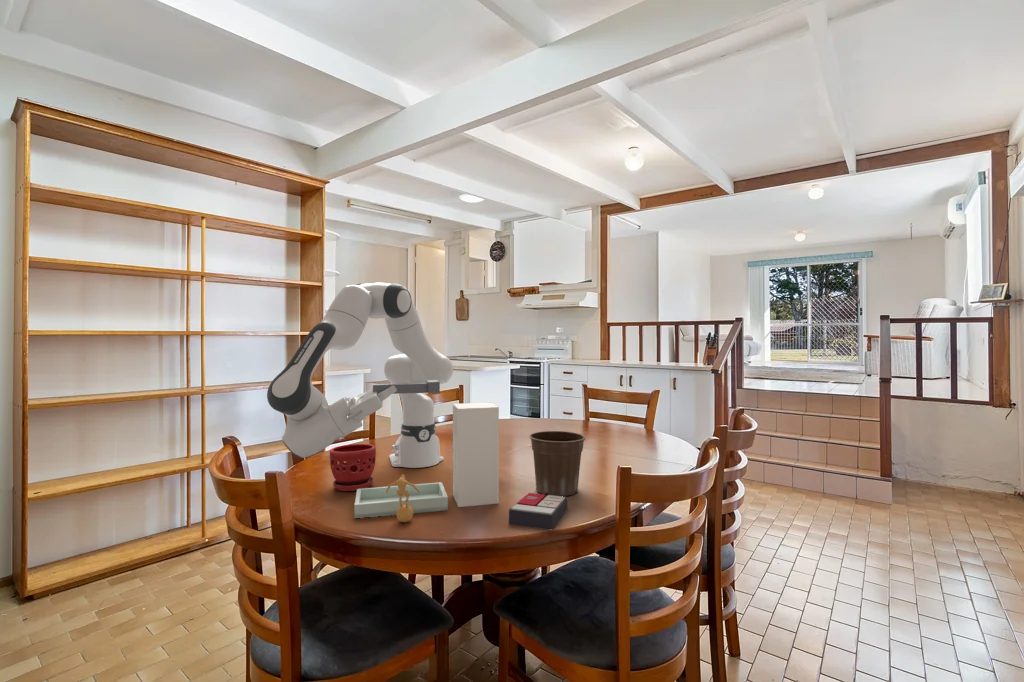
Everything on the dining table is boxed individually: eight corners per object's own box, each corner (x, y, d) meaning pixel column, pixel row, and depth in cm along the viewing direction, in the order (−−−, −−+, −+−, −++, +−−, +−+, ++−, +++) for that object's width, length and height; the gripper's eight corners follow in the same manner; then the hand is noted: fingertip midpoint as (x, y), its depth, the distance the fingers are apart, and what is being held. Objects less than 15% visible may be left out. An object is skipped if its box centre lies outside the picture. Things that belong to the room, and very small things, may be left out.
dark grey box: (567, 495, 125) (552, 512, 111) (567, 512, 125) (552, 531, 111) (527, 491, 129) (508, 506, 115) (527, 507, 129) (508, 524, 115)
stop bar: (373, 392, 129) (373, 381, 129) (436, 390, 133) (436, 379, 133) (372, 395, 122) (372, 383, 122) (439, 393, 126) (439, 382, 126)
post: (453, 495, 136) (452, 403, 136) (490, 491, 139) (490, 402, 139) (458, 507, 126) (458, 408, 126) (498, 503, 129) (498, 407, 129)
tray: (357, 501, 131) (357, 488, 131) (441, 494, 137) (441, 482, 136) (354, 519, 118) (354, 504, 118) (447, 510, 124) (447, 496, 124)
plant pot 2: (568, 479, 151) (568, 428, 150) (596, 495, 136) (596, 438, 136) (520, 486, 144) (520, 432, 144) (544, 503, 129) (544, 443, 129)
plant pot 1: (384, 483, 148) (384, 444, 147) (355, 496, 135) (355, 453, 135) (350, 478, 152) (350, 440, 152) (319, 490, 140) (319, 449, 140)
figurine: (423, 518, 118) (423, 470, 118) (417, 528, 112) (417, 477, 112) (390, 518, 119) (390, 469, 118) (382, 527, 113) (382, 476, 112)
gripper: (337, 410, 113) (389, 379, 116) (344, 399, 133) (388, 374, 136) (351, 432, 114) (403, 401, 117) (356, 418, 134) (400, 393, 137)
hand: (395, 386), depth 127 cm, fingers closed on stop bar, 2 cm apart
